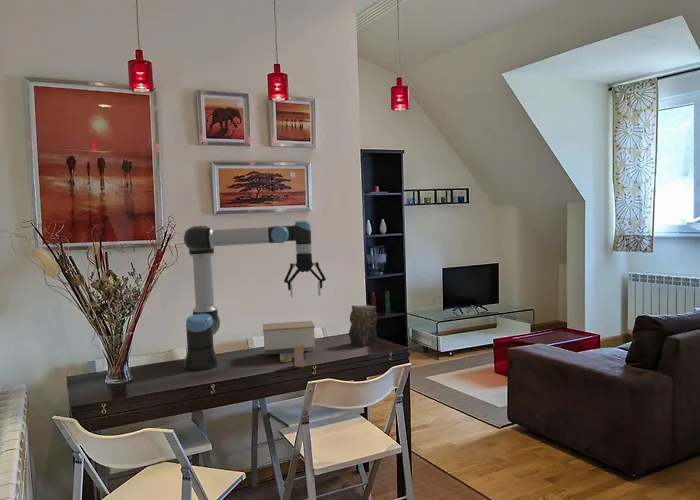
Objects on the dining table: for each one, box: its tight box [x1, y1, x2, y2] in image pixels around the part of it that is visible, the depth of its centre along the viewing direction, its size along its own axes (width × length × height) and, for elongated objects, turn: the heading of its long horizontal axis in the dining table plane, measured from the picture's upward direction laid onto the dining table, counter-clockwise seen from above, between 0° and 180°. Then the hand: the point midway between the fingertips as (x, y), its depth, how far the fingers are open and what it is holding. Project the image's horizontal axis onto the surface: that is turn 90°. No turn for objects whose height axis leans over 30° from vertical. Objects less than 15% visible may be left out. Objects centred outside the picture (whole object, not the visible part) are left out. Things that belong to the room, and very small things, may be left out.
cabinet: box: [262, 320, 316, 355], centre depth 266 cm, size 25×15×15 cm, turn 99°
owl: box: [348, 304, 378, 348], centre depth 284 cm, size 13×13×20 cm
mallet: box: [279, 345, 305, 368], centre depth 251 cm, size 10×17×9 cm, turn 9°
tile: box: [279, 355, 293, 363], centre depth 255 cm, size 5×5×2 cm
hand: (305, 296), depth 265 cm, fingers open, 13 cm apart
